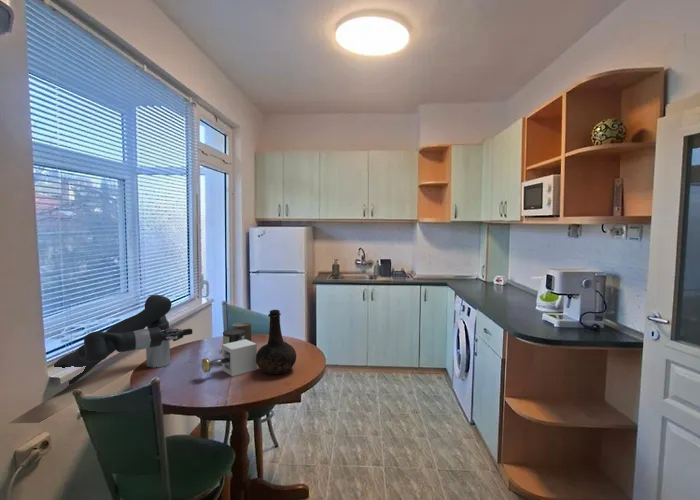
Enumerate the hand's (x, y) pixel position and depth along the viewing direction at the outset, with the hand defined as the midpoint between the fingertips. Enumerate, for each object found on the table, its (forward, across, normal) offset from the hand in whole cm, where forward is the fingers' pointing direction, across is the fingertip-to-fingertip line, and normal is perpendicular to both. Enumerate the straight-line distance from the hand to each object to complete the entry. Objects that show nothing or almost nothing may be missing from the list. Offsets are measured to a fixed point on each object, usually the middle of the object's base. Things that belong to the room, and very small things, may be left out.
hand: (191, 331), depth 161 cm
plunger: (+11, 0, -19) cm, 22 cm away
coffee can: (+26, -15, -22) cm, 37 cm away
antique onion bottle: (+33, +12, -22) cm, 42 cm away
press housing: (+22, 0, -22) cm, 31 cm away
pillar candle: (+37, -28, -21) cm, 51 cm away
